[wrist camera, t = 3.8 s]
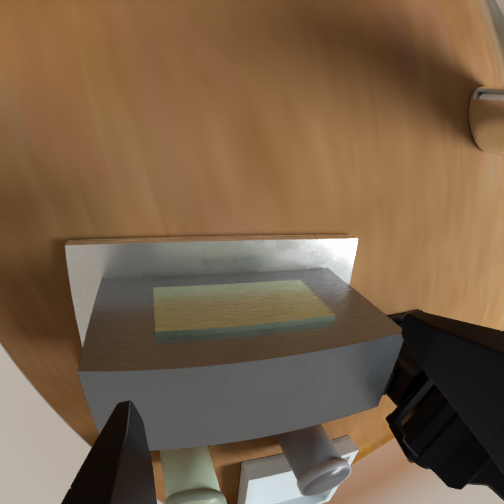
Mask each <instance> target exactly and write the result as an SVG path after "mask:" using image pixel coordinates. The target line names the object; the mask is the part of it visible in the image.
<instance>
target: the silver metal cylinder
mask: <svg viewBox="0 0 504 504" xmlns="http://www.w3.org/2000/svg"><path fill="white" fill-rule="evenodd" d="M469 125H470V129H471V133H472V136H473V138H474V141H475V143H476V144H477V146H478V147H479V148H480V149H481V150H482V151H484V152H488V153H493V154H497V155H502V156H504V87H494V86H480V87H478V88H476V89H475V90H474V92H473V93H472V96H471V99H470V103H469Z"/></svg>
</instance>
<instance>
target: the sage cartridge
mask: <svg viewBox="0 0 504 504" xmlns="http://www.w3.org/2000/svg"><path fill="white" fill-rule="evenodd" d="M159 452H160V459H161V466H162V472H163V479H164V485H165V491H166V497H167V499H166V500H165V504H227V502H226V499H225V496H224V494H223V493H222V492H221V491H220V488H219V484H218V481H217V478H216V474H215V471H214V467H213V464H212V460H211V457H210V453H209V449H208V446H202V447H193V448H183V449H170V450H159Z"/></svg>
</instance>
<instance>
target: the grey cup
mask: <svg viewBox="0 0 504 504" xmlns="http://www.w3.org/2000/svg"><path fill="white" fill-rule="evenodd" d="M275 436H276V439H277V441H278V443H279V445H280V447H281V449H282V451H283V453H284V455H285V457H286V459H287V461H288V463H289V465H290V467H291V469H292V471H293V473H294V475H295V477H296V479H297V487H298V489H299V491H300V493H301V494H302V495H303V496H314V495H318V494H321V493H324V492H327V491H329V490H331V489H333V488H335V487H336V486H338V485H339V484H341V483H342V482H343V481H345V480H346V479H347V478H348V476H349V475H350V474H351V472H352V469H351V467H350V465H349V464H348V462H347V461H346V460H345V459H344V458H342V457H341V456H340V454H339V453H338V451H337V449H336V448H335V446H334V445H333V443H332V441H331V440H330V438H329V437H328V435H327V434H326V432H325V430H324V429H323V427H322V426H321V424H318V425H314V426H311V427H307V428H303V429H298V430H294V431H290V432H285V433H281V434H276V435H275Z"/></svg>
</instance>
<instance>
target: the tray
mask: <svg viewBox="0 0 504 504" xmlns="http://www.w3.org/2000/svg"><path fill="white" fill-rule="evenodd" d="M331 441H332V443H333V445H334V446H335V448H336V449H337V451H338V453H339V454H340V456H341V457H342V458H344V459H345V460H346V461H347V462H348V464H349V465H351V463H352V461H353V460H354V458H355V456H356V454H357V452H358V450H359V449H358V448H357V446H356V445H355V444H354V442H353V441H352V439H351V438H350V436H349V435H347V436H344V437H341V438H338V439H334V440H331ZM338 486H339V485H338ZM338 486H336V487H335V488H333V489H331V490H329V491H327V492H324V493H321V494H318V495H314V496H303V495H302V494H301V493H300V491H299V489H298V487H297V479H296V477H295V475H294V473H293V471H292V469H291V467H290V465H289V463H288V461H287V459H286V457H285V455H284V453H283V454H278V455H274V456H269V457H265V458H260V459H255V460H249V461H244V462H242V465H241V475H240V484H239V493H238V502H237V504H321V503H324V502H327V501H330V499H331V497H332V496H333V494H334V492H335V491H336V489H337V488H338Z"/></svg>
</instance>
